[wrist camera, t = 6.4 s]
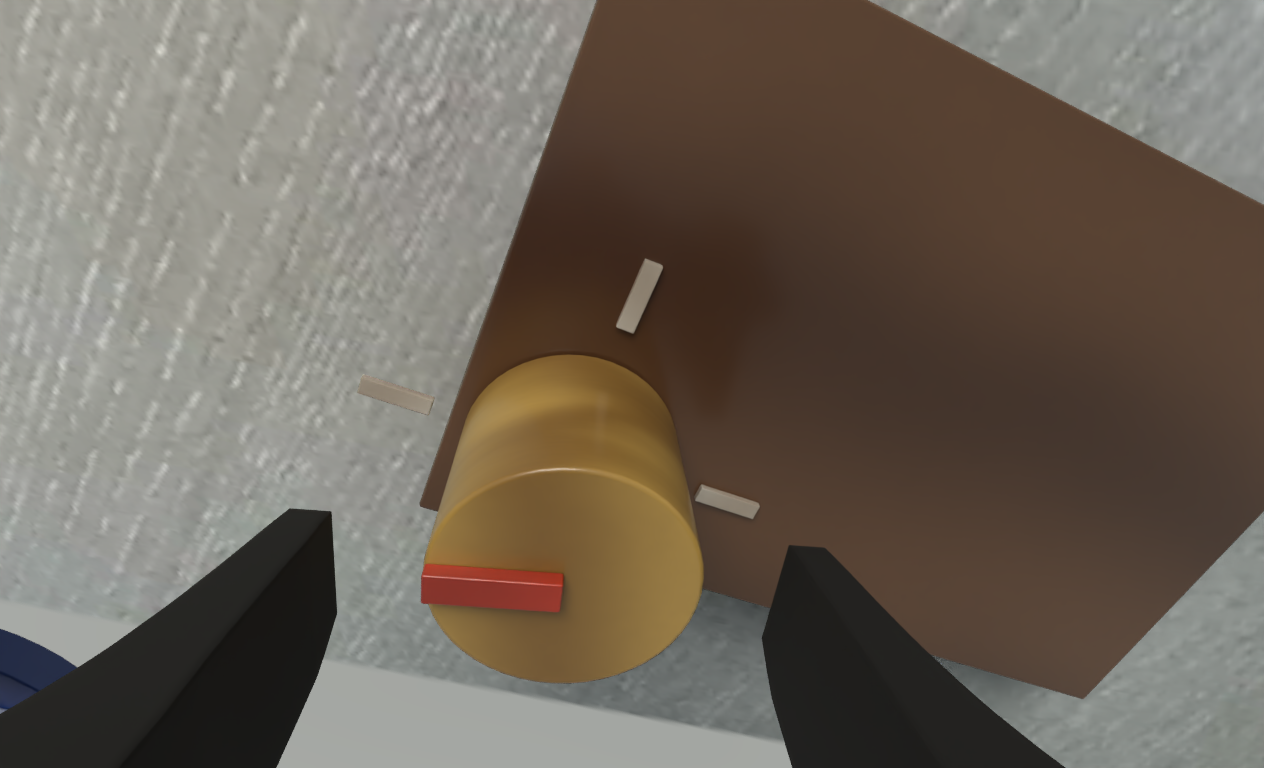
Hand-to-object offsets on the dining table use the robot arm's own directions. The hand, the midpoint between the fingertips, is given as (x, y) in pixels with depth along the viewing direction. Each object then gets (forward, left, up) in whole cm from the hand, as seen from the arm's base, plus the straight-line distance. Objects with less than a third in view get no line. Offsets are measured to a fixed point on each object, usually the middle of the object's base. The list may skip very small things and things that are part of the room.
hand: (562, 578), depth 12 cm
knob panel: (+3, -6, -7) cm, 9 cm away
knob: (0, 0, -4) cm, 4 cm away
